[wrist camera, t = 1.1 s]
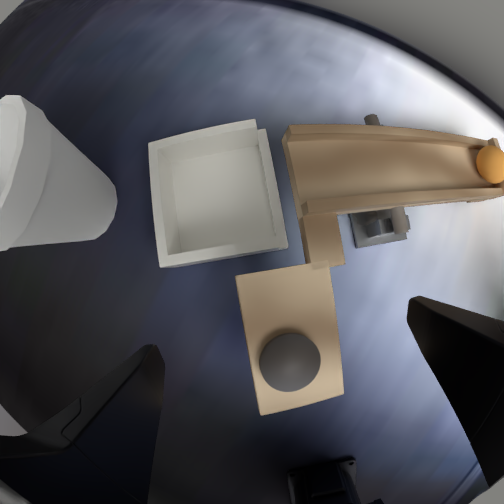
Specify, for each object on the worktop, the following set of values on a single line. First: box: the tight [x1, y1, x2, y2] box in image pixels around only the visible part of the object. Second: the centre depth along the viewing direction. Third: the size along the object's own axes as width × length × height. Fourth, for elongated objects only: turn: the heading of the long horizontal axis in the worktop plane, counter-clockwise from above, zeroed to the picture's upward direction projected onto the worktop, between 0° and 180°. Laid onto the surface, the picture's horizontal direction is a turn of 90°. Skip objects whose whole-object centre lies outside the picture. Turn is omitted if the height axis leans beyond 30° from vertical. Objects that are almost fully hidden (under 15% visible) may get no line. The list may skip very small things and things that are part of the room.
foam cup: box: [0, 95, 117, 251], centre depth 16 cm, size 10×9×13 cm
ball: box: [476, 145, 504, 183], centre depth 16 cm, size 3×3×3 cm
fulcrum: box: [349, 125, 410, 248], centre depth 19 cm, size 9×4×3 cm, turn 9°
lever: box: [235, 114, 504, 415], centre depth 16 cm, size 17×24×4 cm
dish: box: [148, 119, 288, 268], centre depth 20 cm, size 9×9×4 cm
